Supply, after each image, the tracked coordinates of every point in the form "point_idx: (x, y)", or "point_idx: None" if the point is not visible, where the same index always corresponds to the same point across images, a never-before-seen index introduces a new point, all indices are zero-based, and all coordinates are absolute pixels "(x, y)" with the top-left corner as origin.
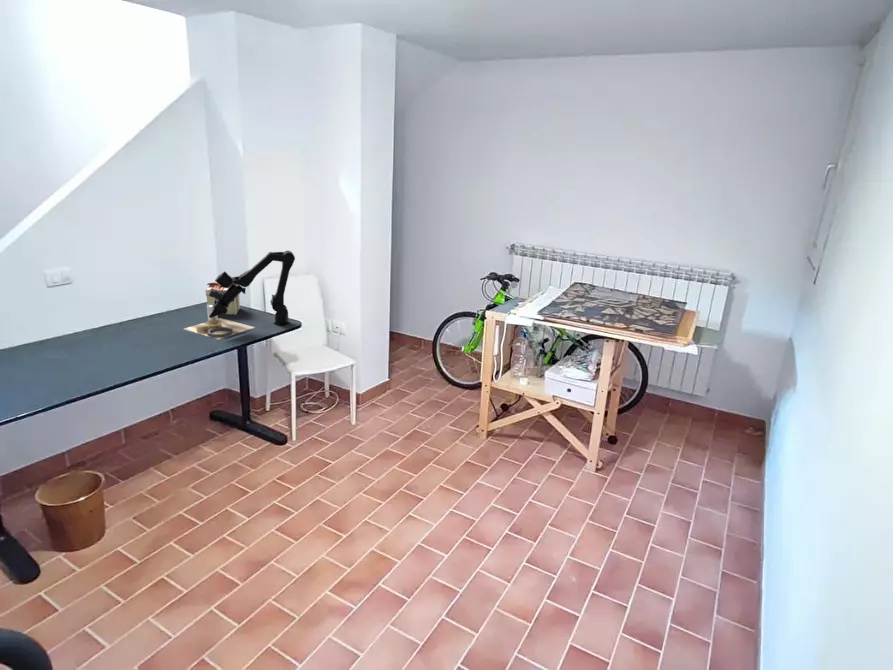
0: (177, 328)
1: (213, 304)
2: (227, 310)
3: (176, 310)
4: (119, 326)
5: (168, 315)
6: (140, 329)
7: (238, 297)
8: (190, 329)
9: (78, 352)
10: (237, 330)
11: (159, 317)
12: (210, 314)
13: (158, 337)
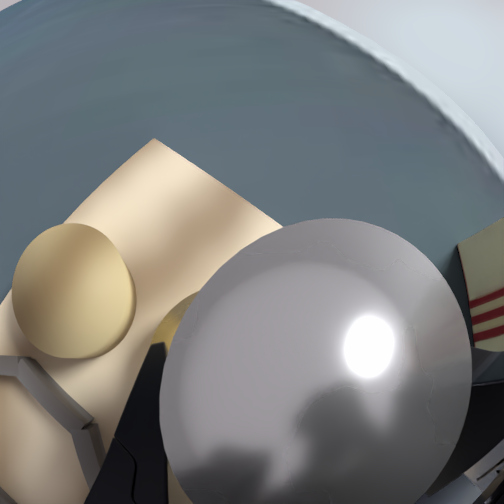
0: (211, 113)
1: (458, 388)
2: (501, 350)
3: (444, 119)
4: (241, 3)
5: (394, 91)
6: (205, 25)
7: None
8: (130, 186)
9: (36, 13)
10: None
11: (362, 67)
12: (145, 375)
13: (69, 83)
